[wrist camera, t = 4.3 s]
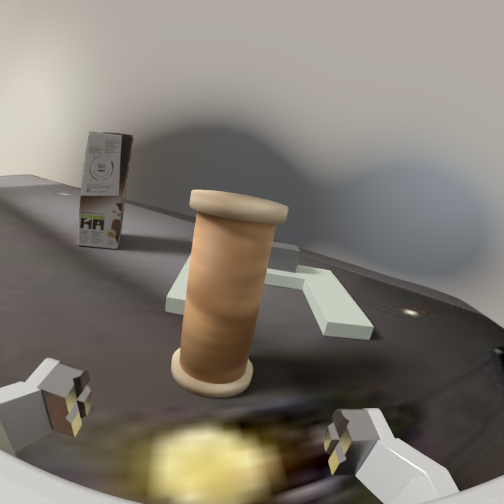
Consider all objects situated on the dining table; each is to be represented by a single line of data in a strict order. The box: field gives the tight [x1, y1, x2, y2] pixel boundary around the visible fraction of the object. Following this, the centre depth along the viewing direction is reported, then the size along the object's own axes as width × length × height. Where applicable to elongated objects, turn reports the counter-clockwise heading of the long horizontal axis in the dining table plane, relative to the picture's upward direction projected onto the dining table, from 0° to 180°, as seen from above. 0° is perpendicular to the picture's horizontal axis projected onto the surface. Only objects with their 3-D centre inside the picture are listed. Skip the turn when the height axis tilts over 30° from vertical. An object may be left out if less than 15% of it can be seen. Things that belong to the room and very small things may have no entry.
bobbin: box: [171, 190, 288, 398], centre depth 20 cm, size 6×6×12 cm
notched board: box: [165, 242, 374, 340], centre depth 38 cm, size 20×18×4 cm
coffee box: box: [77, 132, 133, 249], centre depth 44 cm, size 9×6×16 cm
